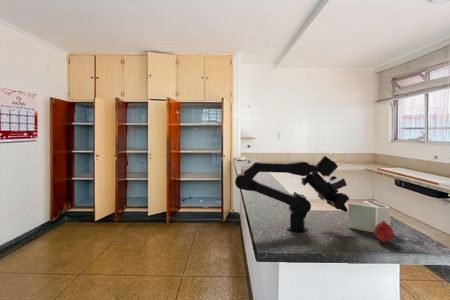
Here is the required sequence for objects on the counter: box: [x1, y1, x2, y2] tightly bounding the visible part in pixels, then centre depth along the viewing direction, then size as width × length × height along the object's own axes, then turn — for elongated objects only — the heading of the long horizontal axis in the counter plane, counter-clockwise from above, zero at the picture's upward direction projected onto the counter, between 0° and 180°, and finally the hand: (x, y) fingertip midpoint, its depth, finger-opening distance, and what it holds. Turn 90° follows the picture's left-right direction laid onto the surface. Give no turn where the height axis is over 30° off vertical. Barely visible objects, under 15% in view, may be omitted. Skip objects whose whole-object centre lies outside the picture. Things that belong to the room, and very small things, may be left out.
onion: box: [373, 220, 394, 243], centre depth 95 cm, size 6×6×8 cm
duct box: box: [362, 200, 391, 227], centre depth 110 cm, size 5×11×10 cm, turn 0°
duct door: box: [348, 202, 376, 233], centre depth 107 cm, size 1×10×10 cm, turn 45°
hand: (346, 210), depth 109 cm, fingers closed
